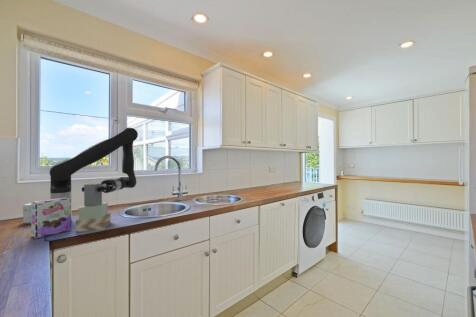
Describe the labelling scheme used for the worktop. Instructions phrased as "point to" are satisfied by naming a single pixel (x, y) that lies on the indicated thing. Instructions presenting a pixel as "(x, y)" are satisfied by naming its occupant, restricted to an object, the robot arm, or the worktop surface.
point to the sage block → (93, 211)
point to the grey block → (92, 194)
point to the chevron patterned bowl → (93, 223)
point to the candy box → (50, 217)
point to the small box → (27, 213)
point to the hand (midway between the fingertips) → (90, 189)
